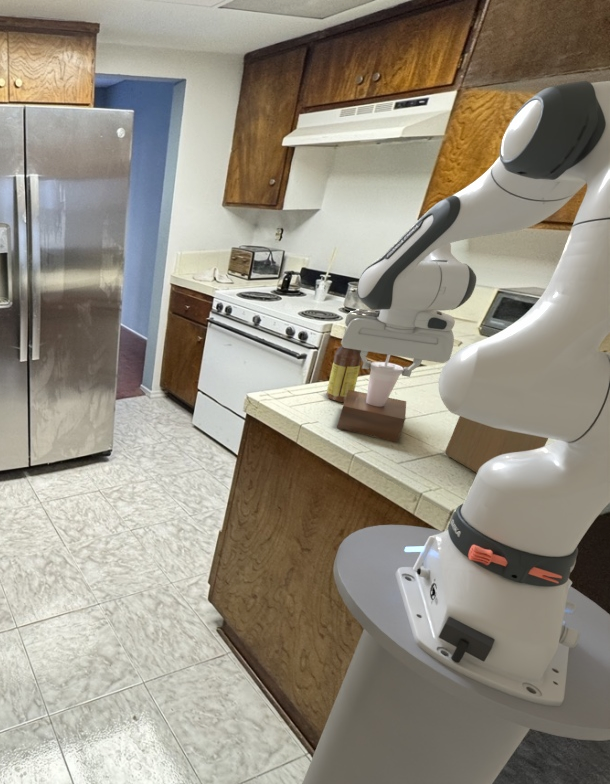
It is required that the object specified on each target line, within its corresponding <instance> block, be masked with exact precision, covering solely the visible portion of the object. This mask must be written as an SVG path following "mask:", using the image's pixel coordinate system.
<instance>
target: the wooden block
mask: <svg viewBox="0 0 610 784" xmlns="http://www.w3.org/2000/svg"><path fill="white" fill-rule="evenodd" d="M548 440H549V438H544V437H539V436H534V435H529V434H524V433H518V432H513V431H508V430H503V429H497V428H493V427H490V426H487V425H484V424H481V423H478V422H475V421H472V420H469V419H467V418H464V417H461V416H458V419H457V422H456V424H455V426H454V429H453V432H452V433H451V437H450V438H449V441H448V443H447V446H446V448H445V455H446V456H448V457H449V458H451V459H453V460H454V461H456V462H458V463H459V464H461V465H463V466H465V467H466V468H468V469H469V470H471V471H473V472H474V473H476V474H477V472H478V470H479V468H480V467H481V466H482V465H483V464H485V463H486V462H487V461H489V460H491V459H492V458H494V457H497V456H499V455H502V454H507V453H513V452H522V451H529V450H534V449H538V448H541V447H544V446H546V444H547V442H548Z"/></svg>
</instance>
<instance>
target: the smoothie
mask: <svg viewBox="0 0 610 784" xmlns="http://www.w3.org/2000/svg"><path fill="white" fill-rule="evenodd" d="M390 357H391V355H388V354H386V358H385V361H371V364H370V368H369V370H370V371H369V378H368V384H367V392H366V393H367V398H366V403H368V404H370V405H373V406H378V407H383V406H384V405H385V403H386V401H387V399H388V398H390V396H391V394H392V391H393V390H394V388H395V386H396V385H397V384H396V383H397V381H398V380H399V378H400V376H401V375H402V373H403V369H404V366H401V365H399V364H396V363H392V362H389V361H390Z"/></svg>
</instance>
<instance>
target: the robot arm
mask: <svg viewBox="0 0 610 784" xmlns="http://www.w3.org/2000/svg"><path fill="white" fill-rule="evenodd" d="M498 155H499V156H498V157H497V159H496V160H495V161H494V163H493V164H492V165H491V166H490V167H489V168H488V169H487V170H486V171H485V172H484V173H483V174H482V175H481V176H479V177H478V178H477V179H475V180H474V181H473V182H471V183H470V184H468V185H467V186H465V187H464V188H463V189H461V190H459V191H458V192H456V193H453V194H452V195H449V196H448V197H446V198H444V199H442V200H440V201H438V202H437V203H435V204H434V205H432V207H430V208H429V209H428V211H426V212H425V213H424V214H423V215H422V216H421V217H420V218H419V219H418V220H417V221H416V222H415V223H414V224H413V225H412V226H411V227H410V228H409V229H408V230H407V231H406V232H405V233H404V234H403V235H402V236H401V237H399V239H398V240H397V241H396V242H395V243H394V244H393V245H392V246H391V247H390V248H389V249H388V250H387V251H386V252H385V253H384V254H383V255H382V256H380V257H379V258H377V259H376V260H374V261H373V262H372V263H370V264H369V265H368V266H367V267H366V268H365V269H364V270H363V272H362V273H361V275H360V277H359V279H358V283H357V287H356V295H357V297H358V298H359V300H360V301H361V302H362V303H363V305H365V306H366V307H368V309H370V310H365V309H364V310H363V309H356V310H353V311H350V312H348V313H347V314H346V318H345V321H344V324H345V326H346V328H347V329H346V328H345V329H346V331H345V330H344V333H343V336H342V339H341V341H340V345H341V346H343V347H344V348H349V349H356V350H361V353H360V356H361V358H362V359H361V362H362V364H361V369H363V370H368V371H369V370H370V365H371V363H372V360H368V358H367V356H368V353H369V352H370V353H375V354H382V355H390V356H393V357H401V358H409V359H413V360H412V364H411V365H409V366H403V373H402V374H401V376H402V377H407V378H408V377H409V378H410V377H411V375H412V372H413V371H415V369H416V368H418V367H419V366H420V365H421V364H422V362H423V361H427V362H433V363H439V364H444V363H445V364H444V366H443V367H442V369H441V370H440V374H439V378H438V392H439V397H440V399H441V401H442V403H443V405H444V406H445V408H446V409H447V410H448V411H449V412H450V413H451V414H453V415H456V416H458V417H460V416H461V417H464V418H467V419H469V420H472V421H475V422H478V423H481V424H484V425H487V426H490V427H493V428H497V429H503V430H508V431H513V432H518V433H524V434H529V435H534V436H539V437H544V438H548V439H551V440H554V441H553V442H551V443H548V444H547V445H546V444H545V446H544V447H541V448H538V449H534V450H529V451H522V452H513V453H507V454H502V455H499V456H497V457H494V458H492V459H491V460H489V461H487V462H486V463H485V464H483V465H482V466H481V467H480V468H479V470H478V472H477V473H476V475H475V477H474V479H473V482H472V483H471V485H470V488H469V490H468V492H467V494H466V496H465V499H464V501H463V503H460V504H459V505H458V506H457V508H456V509H455V511H454V512H453V513H452V515H451V517H450V520H449V523H448V526H447V530H445V531H443V532H442V533H440V534H436V535H433V536H430V537H429V538H428V540H427V542H426V543H425V545H424V547H406V548H405V550H404V551H405V552H421V553H420V555H419V557H418V559H417V561H416V563H415V565H414V567H401V568H399V569H398V570H397V572H396V578H397V582H398V585H399V589H400V592H401V596H402V599H403V602H404V606H405V609H406V613H407V616H408V620H409V623H410V627H411V630H412V634H413V637H414V640H415V642H416V644H417V645H418V646H419V647H420V648H421V649H423V650H424V651H425V652H426V653H428V654H429V655H431V656H432V657H433V658H435V659H436V660H438V661H440V662H441V663H443V664H444V665H446V666H448V667H450V668H452V669H453V670H455V671H457V672H459V673H461V674H463V675H465V676H467V677H469V678H471V679H473V680H475V681H478V682H480V683H482V684H484V685H486V686H489V687H491V688H494V689H496V690H498V691H501V692H503V693H506V694H509V695H511V696H514V697H517V698H520V699H523V700H526V701H529V702H533V703H537V704H542V705H548V706H561V705H562V702H563V700H564V695H565V685H566V674H567V663H568V653H569V648H574V647H575V646H576V644H577V643H578V640H579V637H580V633H579V632H578V631H577V630H574V629H572V628H570V627H567V626H565V621H563V618H564V612H567V613H570V614H573V613H574V611H575V609H576V605H575V604H573V603H571V602H569V601H566V600H567V594H568V589H569V587H570V586H571V587H572V584H573V581H572V580H571V579H570V576H571V573H572V572H573V570H574V568H575V565H576V563H577V556H578V555H579V548H578V545H579V543H580V542H581V540H582V539H583V537H584V536H585V534H586V533H587V531H588V530H589V529H590V527H591V526H592V525H593V523H594V522H595V520H596V519H597V518H598V517H599V515H600V514H601V513H602V512H603V510H604V509H605V508H606V507H607V506H608V505H609V504H610V352H607V351H605V352H604V351H602V350H599V349H600V346H601V344H602V343H603V341H604V340H605V339H606V337H607V336H608V335H610V80H606V81H604V80H603V81H596V82H590V81H588V80H580V81H573V82H567V83H561V84H556V85H554V86H550V87H546V88H543V89H541V90H540V91H538V92H537V93H536V94H535V95H533V96H532V97H531V98H529V100H526V102H524V103H523V105H522V106H521V107H520V108H519V109H518V110H517V111H516V112H515V114H514V116H513V117H512V119H511V120H510V122H509V123H508V125H507V128H506V129H505V132H504V134H503V137H502V139H501V141H500V147H499V154H498ZM585 185H586V186H587V187H586V191H585V194H584V197H583V199H582V200H581V201H582V202H581V204H580V205H579V208H578V210H577V213H576V215H575V218H574V221H573V222H572V223H573V224H572V226H571V229H570V232H569V235H568V237H567V240H566V243H565V245H564V248H563V250H562V254H561V256H560V258H559V260H558V263H557V265H556V268H555V270H554V272H553V274H552V276H551V278H550V280H549V282H548V285H547V286H546V288H545V290H544V292H543V293H542V294H541V296H540V297H539V298H538V300H537V301H536V302H535V303H534V304H533V305H532V307H531V308H529V310H527V312H526V313H524V314H523V315H522V316H521V317H520V318H519V319H517V320H516V321H514V322H513V323H512V324H510V325H509V326H507V327H506V328H504V329H503V330H500V331H499V332H497V333H495V334H492V335H490V336H489V337H486V338H484V339H480V340H479V341H475V342H473V343H470V344H469V345H466V346H465V347H463V348H461V349H459V350H458V351H456V352H455V353H454V354H453V355H452V353H453V350H454V343H455V337H454V336H455V335H454V332H453V328H454V327H455V323H456V321H455V319H454V317H453V316H452V315H450V314H448V313H446V312H443V311H453V310H456V309H458V308H460V307H461V306H462V305H464V304H465V303H466V302H467V301H468V300H469V299H470V298H471V297H472V295H473V293H474V291H475V288H476V284H477V275H476V273H475V271H474V270H473V268H471V267H470V265H468V264H467V263H462V262H461V261H460V260H458V259H457V258H456V257H455V256H454V255H453V253H452V243H456V242H459V241H464V240H468V239H475V238H480V237H481V238H482V237H487V236H494V235H501V234H502V235H503V234H509V233H513V232H518V231H522V230H525V229H529V228H531V227H533V226H536V225H538V224H540V223H541V222H543V221H544V220H546V219H548V218H549V217H552V215H554V214H555V213H556V212H558V211H559V210H560V209H562V208H563V207H564V206H565V205H566V204H567V203H568V202H569V201H570V200H571V199H572V198H573V197H574V196H575V195H576V194H577V193H578V192H580V190H581V189H582V188H583V187H584V186H585ZM377 310H378V311H377Z"/></svg>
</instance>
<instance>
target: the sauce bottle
mask: <svg viewBox="0 0 610 784" xmlns="http://www.w3.org/2000/svg"><path fill="white" fill-rule="evenodd" d="M346 329H347V327H346V328H345V330H344V332H345V331H346ZM360 353H361V350H356V349H349V348H344V347H343V346H342V345H341V346H339V347H338V348H337V350H335V352H334V357H333V358H334V359H333V362H332V365H331V370H330V374H329V379H328V384H327V387H326V397H327V398H328V399H329V400H331V401H335V402H340V403H344V402H345V399H346V396H347V393H348V390H352V391H356V386H357V383H358V382H357V381H358V377H359V373H360V369H361V366H362V358H361V356H360Z"/></svg>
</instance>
